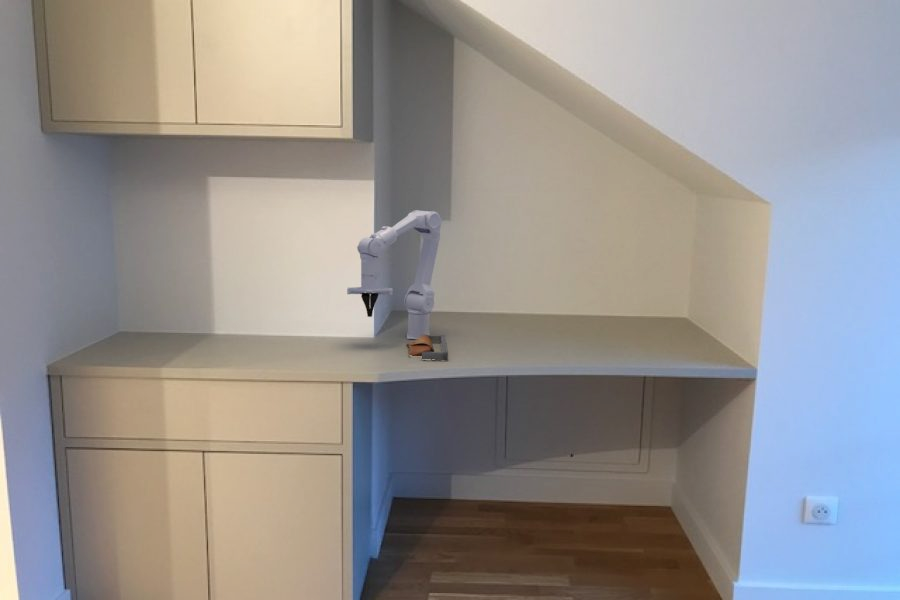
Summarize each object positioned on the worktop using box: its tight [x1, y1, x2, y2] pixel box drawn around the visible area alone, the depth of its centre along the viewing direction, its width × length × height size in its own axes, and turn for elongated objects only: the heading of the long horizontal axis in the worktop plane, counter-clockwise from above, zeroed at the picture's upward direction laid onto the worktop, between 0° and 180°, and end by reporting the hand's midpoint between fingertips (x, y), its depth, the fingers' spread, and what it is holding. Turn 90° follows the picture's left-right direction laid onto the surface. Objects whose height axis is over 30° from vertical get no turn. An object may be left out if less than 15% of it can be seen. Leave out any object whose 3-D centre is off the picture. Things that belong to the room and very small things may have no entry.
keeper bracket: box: [421, 334, 449, 360], centre depth 229 cm, size 24×8×2 cm, turn 3°
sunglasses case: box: [406, 334, 435, 356], centre depth 229 cm, size 18×7×7 cm
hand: (369, 316), depth 230 cm, fingers closed
